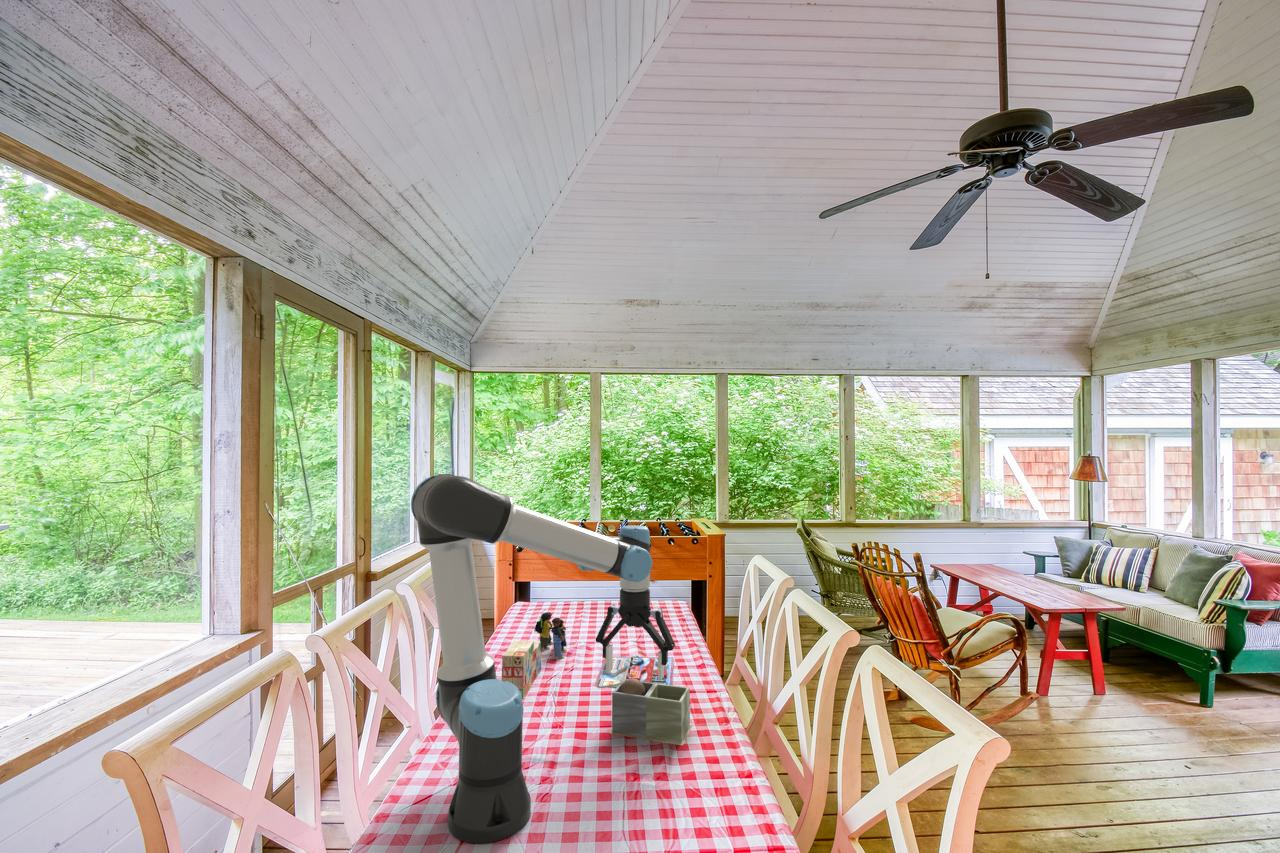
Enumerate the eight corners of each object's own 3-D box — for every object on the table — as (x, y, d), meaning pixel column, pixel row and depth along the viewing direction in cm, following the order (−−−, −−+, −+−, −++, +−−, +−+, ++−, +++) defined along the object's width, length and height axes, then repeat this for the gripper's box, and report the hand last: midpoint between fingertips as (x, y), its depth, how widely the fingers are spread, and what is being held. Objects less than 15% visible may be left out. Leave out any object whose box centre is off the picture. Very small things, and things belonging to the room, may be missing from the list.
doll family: (582, 656, 192) (582, 616, 192) (559, 663, 186) (559, 622, 186) (545, 639, 209) (545, 603, 210) (523, 645, 203) (524, 607, 204)
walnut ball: (645, 710, 139) (639, 698, 136) (622, 708, 141) (615, 697, 137) (649, 686, 144) (643, 674, 140) (626, 685, 145) (620, 673, 142)
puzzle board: (605, 660, 190) (605, 652, 191) (673, 662, 189) (673, 654, 189) (589, 699, 160) (590, 689, 160) (671, 702, 158) (671, 692, 158)
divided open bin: (682, 749, 132) (682, 703, 132) (608, 737, 137) (609, 693, 138) (692, 729, 141) (692, 686, 142) (622, 719, 147) (622, 677, 147)
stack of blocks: (521, 670, 180) (522, 630, 181) (541, 670, 180) (541, 631, 180) (501, 699, 159) (501, 654, 159) (523, 700, 158) (523, 655, 159)
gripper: (686, 588, 142) (687, 674, 141) (594, 581, 150) (594, 663, 149) (679, 595, 135) (679, 686, 134) (583, 587, 143) (582, 673, 142)
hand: (634, 674), depth 141 cm, fingers open, 13 cm apart
